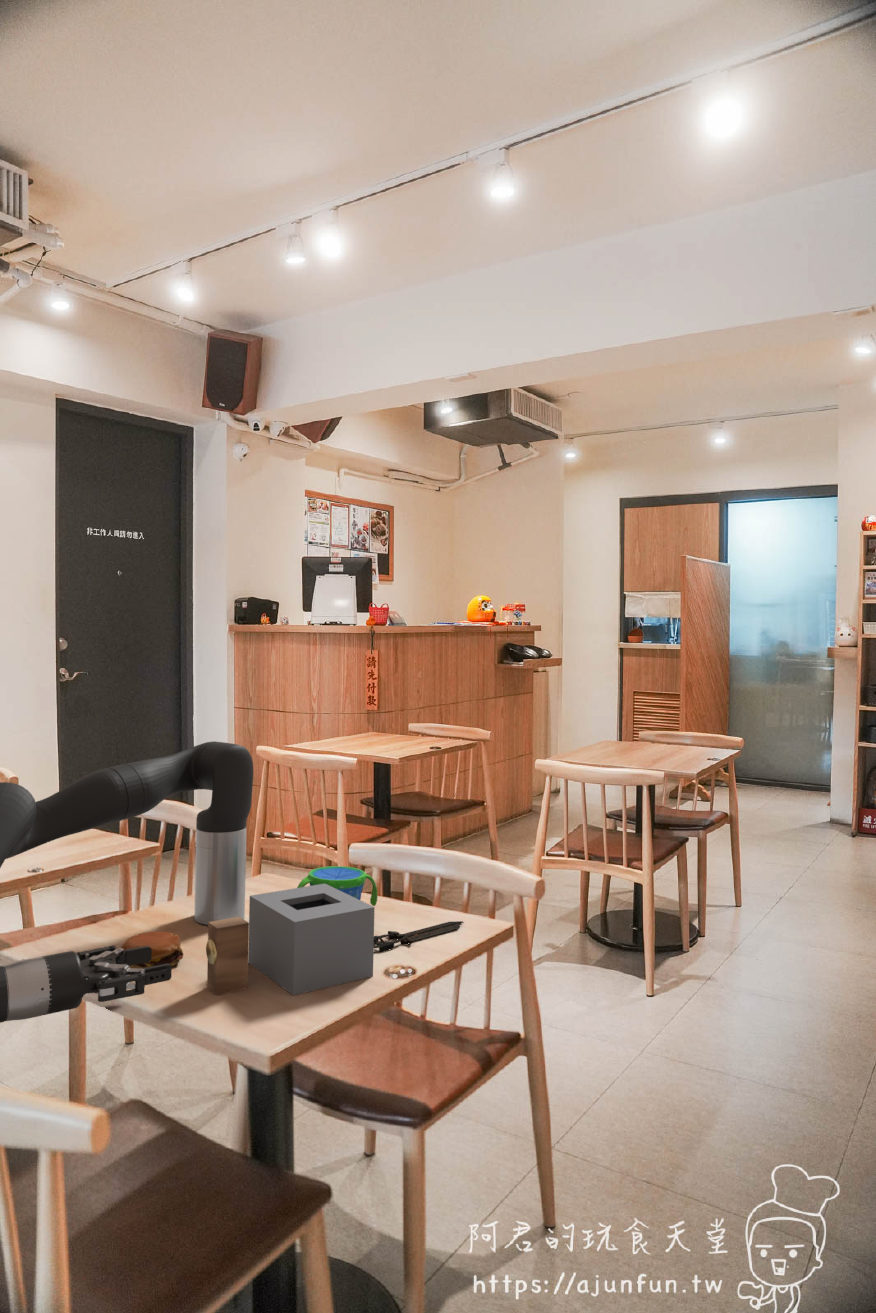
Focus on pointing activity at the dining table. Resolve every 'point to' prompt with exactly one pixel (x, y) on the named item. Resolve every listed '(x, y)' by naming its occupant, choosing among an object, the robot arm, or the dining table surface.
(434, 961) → the dining table surface
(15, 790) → the robot arm
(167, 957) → the burger
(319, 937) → the tissue box
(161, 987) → the dining table surface
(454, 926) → the knife
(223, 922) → the brown rectangular block
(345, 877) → the snack cup
